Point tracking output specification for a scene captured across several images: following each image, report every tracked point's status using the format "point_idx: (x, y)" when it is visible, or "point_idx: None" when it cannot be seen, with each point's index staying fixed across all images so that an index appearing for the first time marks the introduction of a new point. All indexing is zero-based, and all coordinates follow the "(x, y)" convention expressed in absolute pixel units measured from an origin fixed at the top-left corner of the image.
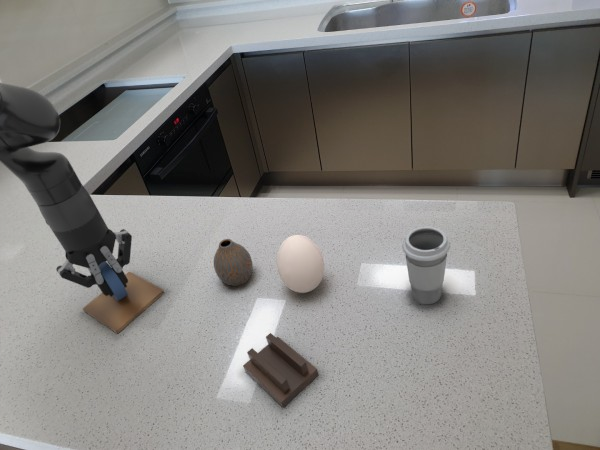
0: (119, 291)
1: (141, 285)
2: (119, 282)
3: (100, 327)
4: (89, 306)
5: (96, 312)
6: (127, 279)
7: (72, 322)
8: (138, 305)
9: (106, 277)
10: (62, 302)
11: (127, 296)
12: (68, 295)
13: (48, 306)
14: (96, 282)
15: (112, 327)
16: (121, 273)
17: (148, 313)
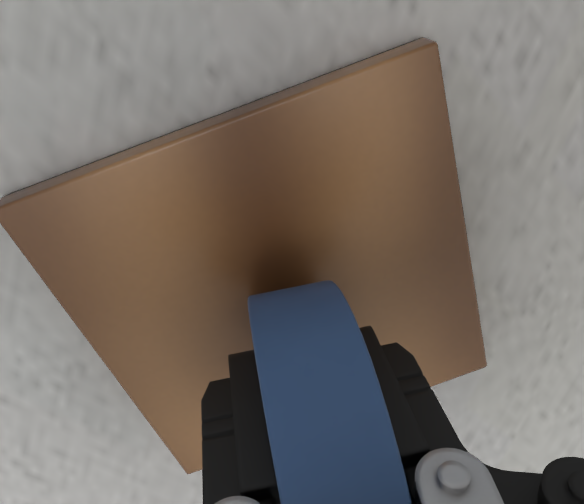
0: (306, 315)
1: (145, 343)
2: (279, 389)
3: (473, 184)
4: (455, 360)
5: (449, 297)
6: (202, 405)
7: (550, 317)
8: (213, 181)
9: (386, 498)
10: (514, 450)
11: None
12: None
13: (562, 457)
14: (485, 484)
15: (439, 98)
16: (225, 478)
17: (170, 72)
